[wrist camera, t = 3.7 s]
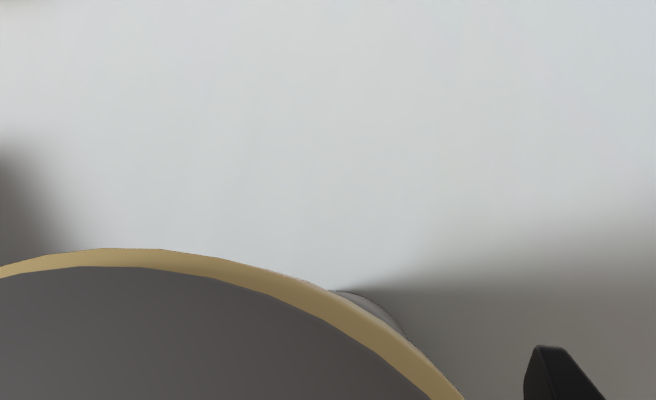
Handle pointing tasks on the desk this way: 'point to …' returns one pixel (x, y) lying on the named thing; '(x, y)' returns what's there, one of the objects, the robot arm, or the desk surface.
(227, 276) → the plug
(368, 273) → the desk surface
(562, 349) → the robot arm
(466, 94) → the desk surface
